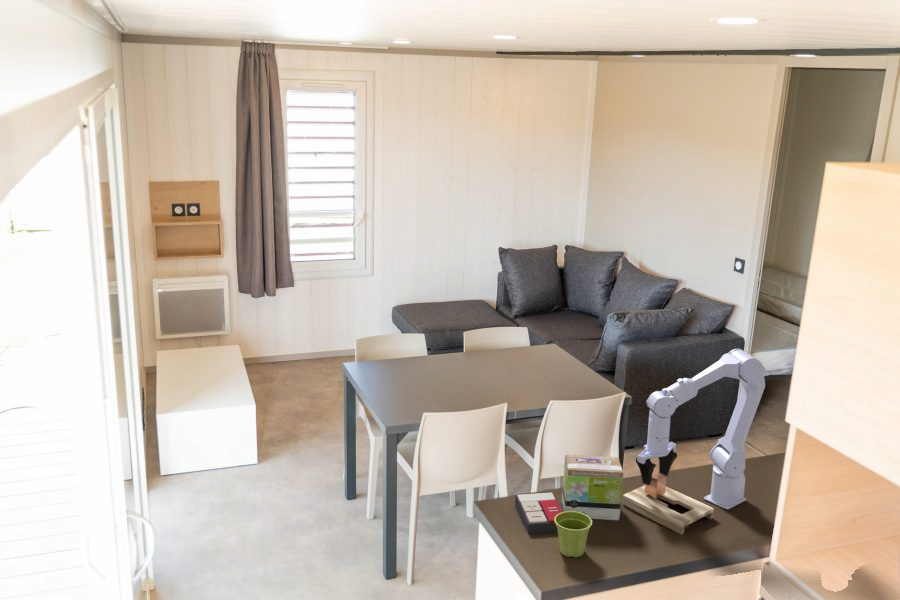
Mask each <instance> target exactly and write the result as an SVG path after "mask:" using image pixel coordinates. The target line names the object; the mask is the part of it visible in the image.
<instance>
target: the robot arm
mask: <svg viewBox="0 0 900 600" xmlns="http://www.w3.org/2000/svg"><path fill="white" fill-rule="evenodd" d="M765 371H766V367H765V366H764V365H763V363H762V362H761V360H759V359H758V358H755V357H753V356H752V355H750V354H749V353H747V352H746V351H745V350H743V349H741V348H734V349H731V350H730V351H729V352H728V353H724V354H723V355H721V357H720V358H719V360H718V361H716V362H714V363H713V364H711V365H710V366H709V367H707V368H706V369H704V370H703V371H701V372H699V373H697V374H696V375H694V376H693V377H691V378H688V377H683V378H678V379H676V382H675V383H673V384H671V385H670V386H667V387H664V388H662V389H661V390H656V391H654V392H652V393H650V395H649V396H648V398H647V399H646V401H645V402H646V406H647V407H648V408H649V413H648V424H647V425H648V427H647V428H648V429H647V438H646V439H647V441H646V444H644V445H643V448H644V449H643V450H642V451H641V452H640V453H639V454H637V457H636V458H635V463H636V465H637V467H638V469H639V471H640V476H641V481H642V484H644V485H645V484H647V485H650V483H651V479H652V473H653V471H655V468H656V466H657V464H656V463H653V462H652V461H651V460H652V459H654V458H658V466H659V467H658V468H659V469H658V472H659V473H661V474H664V475H666V478H668V476H669V473H670V470H671V467H672V465H673V463H674V462H675V460H676V459H677V458H678V453H677V452H676V449H677V444H676V443H675V442H673V441H670V431H671V429H670V428H671V416H673V414H675V412H676V409H677V408H678V407H680V406H681V405H682V404H685V403H686V402H688V401H690V400H691V399H693V398H695V397H696V396H697V395H698V393H699V390H700V389H702V388H704V387H706V386H709V385H710V384H712V383H714V382H716V381H718V380H721V379H723V378H725V377H727V378H732V379H736V380H739V381H740V383H741V385H742V387H741V390H740V393H739V395H738V399H737V401H736V404H735V407H734V409H733V412H732V415H731V417H730V420H729V424H728V426H727V429H726V431H725V434H724V436H723V437H720V438H718V440H717V442H716V444H715V445H714V447H712V448H711V450H710V452H709V457H710V459H711V462H712V476H711V486H710V487H711V488H710V494H708V495H706V496H704V497H703V499H704V501H705V500H706V501H708V502H709V503H712V504H714V505H716V506H717V507H720V508H722V509H726V510H730V509H732V508H735V506H737V505H740V504H742V503H743V502H746V500H747V498H746V497H744V496H745V495H744V494H745V486H746V476H745V473H744V472H745V469H746V457H747V451H746V447H745V443H746V440H747V437H748V434H749V431H750V429H751V425H752V423H753V420H754V418H755V415H756V413H757V409H758V408H759V407H758V406H759V405H760V402H761V399H762V396H763V393H764V390H765V388H766V381H765Z"/></svg>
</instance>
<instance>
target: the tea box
mask: <svg viewBox="0 0 900 600" xmlns="http://www.w3.org/2000/svg"><path fill="white" fill-rule="evenodd" d="M563 466H564V467H563V481H562V491H561V492H562V495H561V503H562V507H563V512H566V511H575V512H580V513H583V514H585V515H587V516H589V517H590V518H591V520H593V519H594V520H606V521H607V520H608V521H617V522H618V521H620V516H621V508H622V507H621V506H622V497H623V482H624V471H623V468H622V464H621V462H620V459H619V457H618V456H601V455H600V456H599V455H583V454H582V455H581V454H580V455H579V454H565V456H564V465H563Z"/></svg>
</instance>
